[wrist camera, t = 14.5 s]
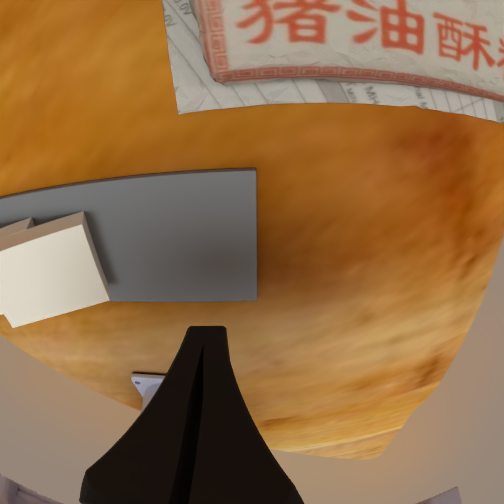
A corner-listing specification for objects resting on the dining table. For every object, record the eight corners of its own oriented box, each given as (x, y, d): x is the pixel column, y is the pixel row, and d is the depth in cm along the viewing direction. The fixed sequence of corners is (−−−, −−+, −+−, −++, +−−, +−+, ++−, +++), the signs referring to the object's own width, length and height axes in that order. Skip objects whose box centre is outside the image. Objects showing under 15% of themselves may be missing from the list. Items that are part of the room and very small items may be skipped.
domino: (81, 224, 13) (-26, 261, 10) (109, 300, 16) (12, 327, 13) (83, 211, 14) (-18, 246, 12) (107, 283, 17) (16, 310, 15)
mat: (256, 296, 18) (257, 300, 18) (-39, 288, 18) (-41, 291, 18) (255, 167, 14) (256, 170, 13) (-73, 216, 13) (-75, 218, 13)
